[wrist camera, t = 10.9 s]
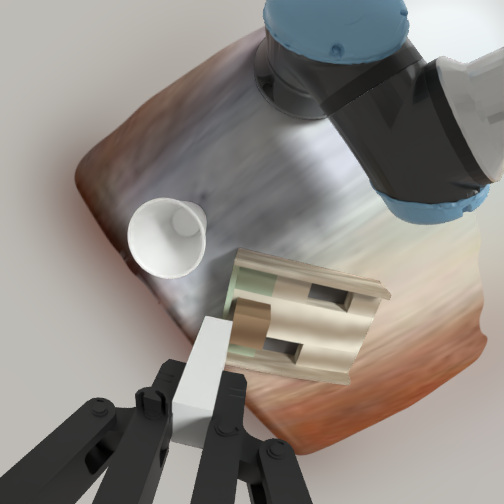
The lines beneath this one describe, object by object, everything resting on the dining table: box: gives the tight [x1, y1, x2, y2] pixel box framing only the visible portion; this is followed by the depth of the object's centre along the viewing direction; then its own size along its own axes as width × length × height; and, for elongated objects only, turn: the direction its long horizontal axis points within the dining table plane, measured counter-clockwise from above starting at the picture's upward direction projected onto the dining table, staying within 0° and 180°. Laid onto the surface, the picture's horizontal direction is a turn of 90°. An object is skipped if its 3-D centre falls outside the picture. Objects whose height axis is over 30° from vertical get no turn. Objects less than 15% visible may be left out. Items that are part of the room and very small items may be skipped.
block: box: [229, 297, 271, 350], centre depth 44 cm, size 5×5×5 cm
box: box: [222, 248, 391, 385], centre depth 46 cm, size 18×23×6 cm
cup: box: [127, 198, 207, 279], centre depth 40 cm, size 10×10×11 cm
